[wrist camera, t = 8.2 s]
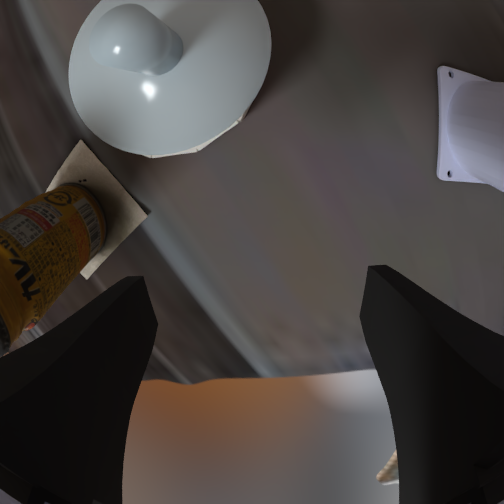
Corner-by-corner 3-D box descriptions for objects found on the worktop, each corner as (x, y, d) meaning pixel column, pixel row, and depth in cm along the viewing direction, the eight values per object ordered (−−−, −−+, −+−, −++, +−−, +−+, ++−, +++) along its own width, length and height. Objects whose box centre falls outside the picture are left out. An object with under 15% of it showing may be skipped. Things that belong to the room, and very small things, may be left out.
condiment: (32, 216, 18) (-69, 298, 8) (82, 138, 16) (-64, 198, 5) (88, 278, 21) (10, 388, 10) (149, 214, 18) (48, 342, 8)
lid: (269, -36, 8) (273, -86, 4) (270, 148, 13) (277, 169, 9) (81, -2, 8) (29, -22, 4) (82, 162, 13) (26, 188, 9)
